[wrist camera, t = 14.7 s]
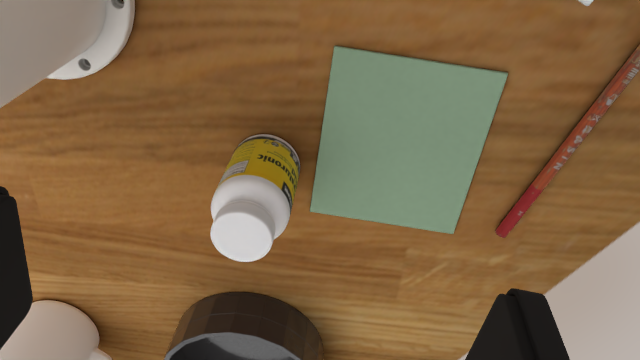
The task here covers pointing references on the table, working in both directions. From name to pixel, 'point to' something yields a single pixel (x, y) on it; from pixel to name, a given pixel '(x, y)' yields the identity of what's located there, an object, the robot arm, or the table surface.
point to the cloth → (402, 138)
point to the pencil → (572, 141)
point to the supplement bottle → (254, 197)
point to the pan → (244, 330)
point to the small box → (586, 2)
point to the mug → (54, 335)
